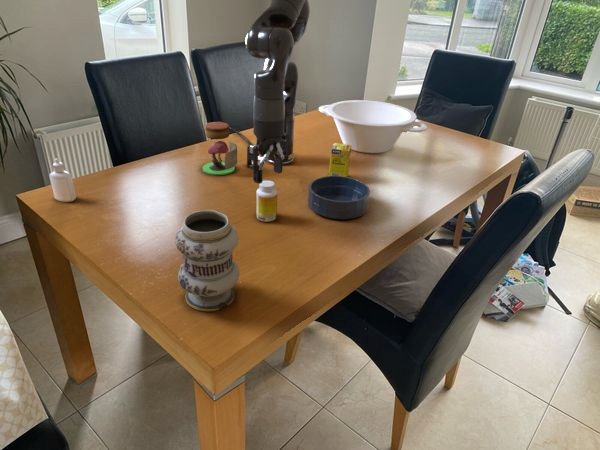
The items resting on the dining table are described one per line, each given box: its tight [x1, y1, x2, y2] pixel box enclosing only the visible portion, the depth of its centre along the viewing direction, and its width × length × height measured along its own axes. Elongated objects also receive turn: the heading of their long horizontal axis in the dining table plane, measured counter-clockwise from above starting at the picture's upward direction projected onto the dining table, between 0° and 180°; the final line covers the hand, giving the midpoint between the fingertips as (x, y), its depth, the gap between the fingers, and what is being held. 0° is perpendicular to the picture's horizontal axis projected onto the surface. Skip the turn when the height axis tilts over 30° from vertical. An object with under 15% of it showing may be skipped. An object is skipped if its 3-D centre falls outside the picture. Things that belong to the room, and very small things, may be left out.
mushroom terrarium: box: [202, 121, 238, 176], centre depth 145 cm, size 12×13×15 cm
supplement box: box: [328, 142, 352, 177], centre depth 145 cm, size 6×6×11 cm
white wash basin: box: [318, 99, 428, 154], centre depth 173 cm, size 44×34×14 cm
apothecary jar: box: [174, 209, 241, 312], centre depth 88 cm, size 12×12×18 cm
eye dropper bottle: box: [49, 158, 77, 203], centre depth 123 cm, size 4×6×12 cm
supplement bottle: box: [255, 180, 278, 223], centre depth 120 cm, size 6×6×10 cm
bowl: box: [307, 175, 371, 220], centre depth 129 cm, size 17×17×6 cm
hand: (268, 177), depth 116 cm, fingers open, 8 cm apart
